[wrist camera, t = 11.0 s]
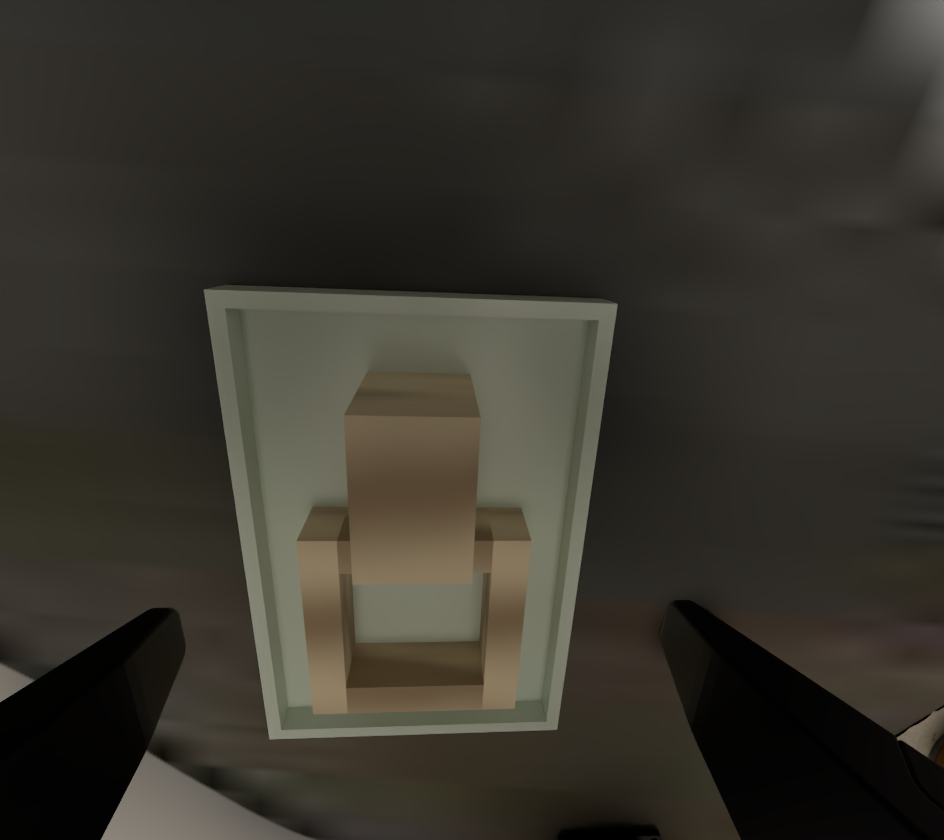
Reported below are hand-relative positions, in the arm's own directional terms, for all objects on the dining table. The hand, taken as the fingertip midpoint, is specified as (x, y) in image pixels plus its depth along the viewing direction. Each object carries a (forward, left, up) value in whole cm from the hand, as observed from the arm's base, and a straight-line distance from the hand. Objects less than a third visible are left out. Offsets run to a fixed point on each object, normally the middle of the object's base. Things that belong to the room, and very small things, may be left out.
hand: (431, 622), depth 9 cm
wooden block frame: (-6, +1, -11) cm, 13 cm away
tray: (-6, +1, -12) cm, 13 cm away
